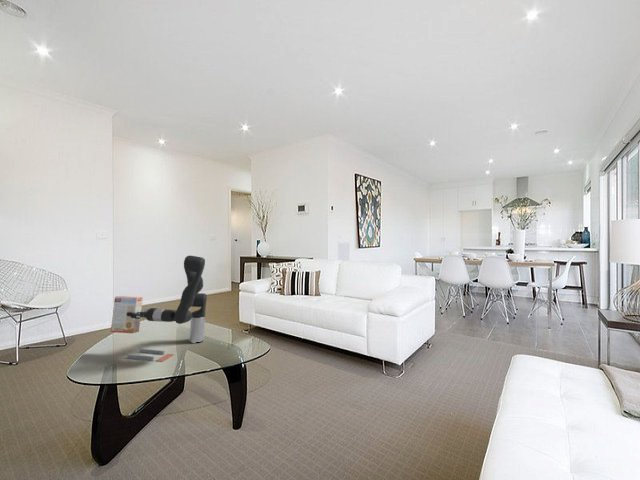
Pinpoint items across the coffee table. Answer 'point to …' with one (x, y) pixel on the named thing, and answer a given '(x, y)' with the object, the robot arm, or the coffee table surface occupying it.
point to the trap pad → (164, 357)
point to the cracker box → (120, 318)
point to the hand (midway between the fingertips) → (131, 312)
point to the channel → (145, 356)
